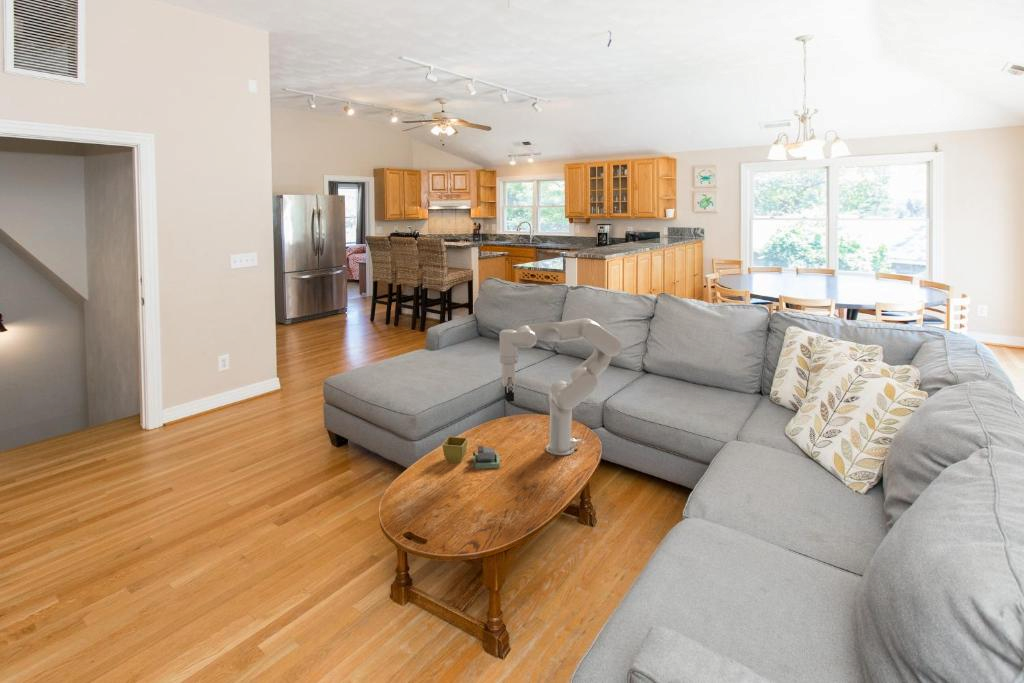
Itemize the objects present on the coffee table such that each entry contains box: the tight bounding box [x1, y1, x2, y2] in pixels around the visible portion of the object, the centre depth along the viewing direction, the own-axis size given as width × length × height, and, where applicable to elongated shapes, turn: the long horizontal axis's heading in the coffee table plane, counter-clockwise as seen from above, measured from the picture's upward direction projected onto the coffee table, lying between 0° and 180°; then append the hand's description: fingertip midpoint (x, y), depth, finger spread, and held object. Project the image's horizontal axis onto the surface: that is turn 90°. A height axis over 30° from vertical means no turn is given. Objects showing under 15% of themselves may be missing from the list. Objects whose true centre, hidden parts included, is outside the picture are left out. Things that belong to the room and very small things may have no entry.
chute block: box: [477, 445, 496, 463], centre depth 240 cm, size 7×5×7 cm
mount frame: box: [472, 451, 501, 470], centre depth 241 cm, size 11×10×3 cm
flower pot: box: [442, 436, 468, 464], centre depth 242 cm, size 9×9×9 cm
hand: (509, 397), depth 244 cm, fingers open, 9 cm apart
